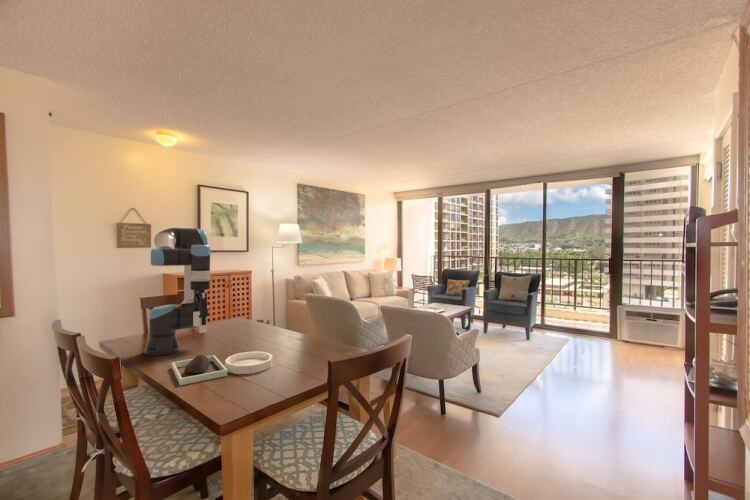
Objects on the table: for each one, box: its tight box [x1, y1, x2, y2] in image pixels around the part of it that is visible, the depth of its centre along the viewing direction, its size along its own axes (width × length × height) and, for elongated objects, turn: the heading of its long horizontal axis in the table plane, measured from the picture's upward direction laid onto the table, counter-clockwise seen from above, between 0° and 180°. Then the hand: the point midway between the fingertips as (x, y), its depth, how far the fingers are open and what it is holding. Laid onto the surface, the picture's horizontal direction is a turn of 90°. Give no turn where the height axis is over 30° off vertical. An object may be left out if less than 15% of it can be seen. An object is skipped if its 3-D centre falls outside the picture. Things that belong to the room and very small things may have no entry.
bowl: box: [224, 351, 274, 375], centre depth 157 cm, size 20×20×4 cm
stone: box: [183, 354, 210, 375], centre depth 148 cm, size 10×8×10 cm
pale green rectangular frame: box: [171, 354, 229, 386], centre depth 148 cm, size 24×18×2 cm
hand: (199, 329), depth 148 cm, fingers open, 13 cm apart
